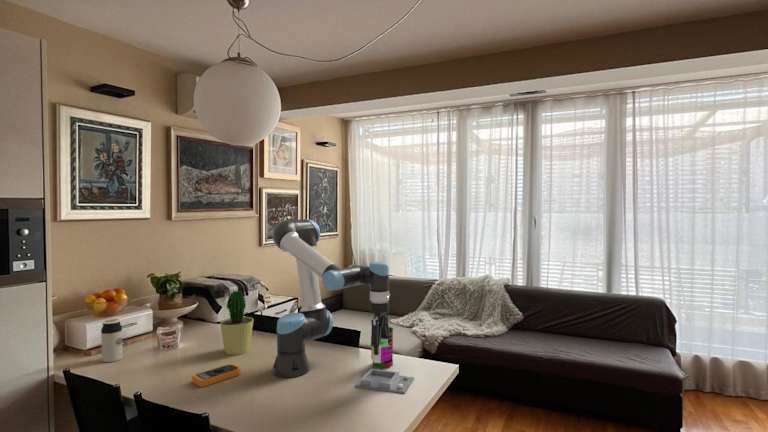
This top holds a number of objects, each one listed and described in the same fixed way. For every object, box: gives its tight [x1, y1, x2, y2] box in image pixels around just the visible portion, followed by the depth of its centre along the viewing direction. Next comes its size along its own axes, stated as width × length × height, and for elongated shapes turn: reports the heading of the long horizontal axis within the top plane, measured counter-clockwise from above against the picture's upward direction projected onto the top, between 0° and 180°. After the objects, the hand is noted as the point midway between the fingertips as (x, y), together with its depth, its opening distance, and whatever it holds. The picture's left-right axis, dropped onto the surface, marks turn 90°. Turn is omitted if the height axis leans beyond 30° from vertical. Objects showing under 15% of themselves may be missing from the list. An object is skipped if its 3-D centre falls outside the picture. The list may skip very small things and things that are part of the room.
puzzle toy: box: [370, 342, 391, 362], centre depth 169 cm, size 6×6×6 cm
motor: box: [372, 326, 394, 370], centre depth 188 cm, size 10×9×20 cm
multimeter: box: [191, 363, 242, 388], centre depth 175 cm, size 9×18×3 cm, turn 139°
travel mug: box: [100, 318, 123, 363], centre depth 197 cm, size 8×8×18 cm
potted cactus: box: [219, 290, 255, 356], centre depth 207 cm, size 15×15×30 cm
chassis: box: [354, 368, 415, 394], centre depth 169 cm, size 20×14×3 cm
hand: (380, 358), depth 169 cm, fingers closed on puzzle toy, 8 cm apart
